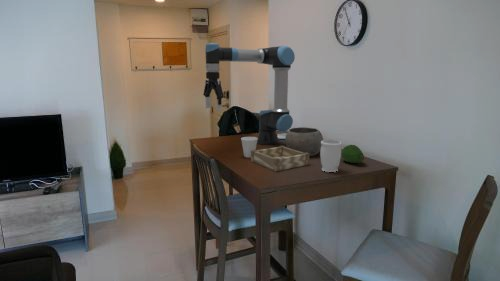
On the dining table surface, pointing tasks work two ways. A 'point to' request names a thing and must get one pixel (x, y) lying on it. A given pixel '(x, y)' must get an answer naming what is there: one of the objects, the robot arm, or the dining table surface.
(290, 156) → the crate
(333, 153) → the jar
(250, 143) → the cup
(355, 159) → the fruit
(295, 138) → the bowl
